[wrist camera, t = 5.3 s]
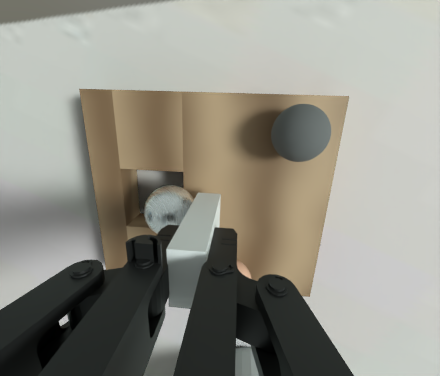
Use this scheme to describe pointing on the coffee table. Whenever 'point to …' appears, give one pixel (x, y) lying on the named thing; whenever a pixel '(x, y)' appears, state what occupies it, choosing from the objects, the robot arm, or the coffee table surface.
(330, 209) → the coffee table surface
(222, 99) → the wooden flat board
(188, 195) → the steel ball
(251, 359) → the coffee cup
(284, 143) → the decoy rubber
